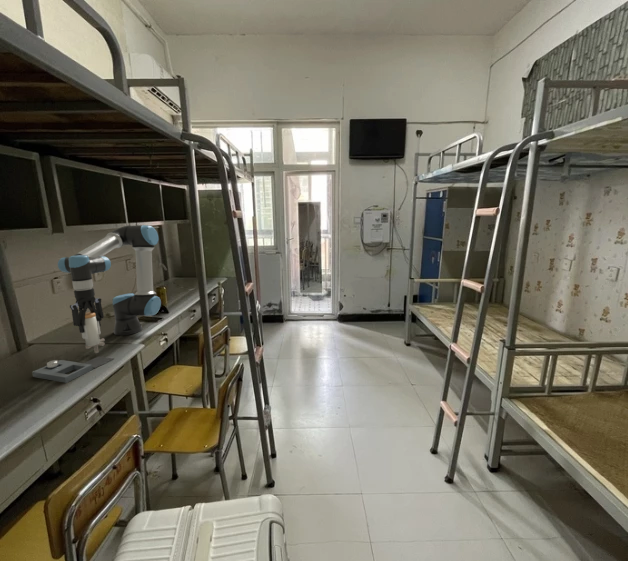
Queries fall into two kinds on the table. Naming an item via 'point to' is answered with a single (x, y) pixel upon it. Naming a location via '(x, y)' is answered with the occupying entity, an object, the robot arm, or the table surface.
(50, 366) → the plunger
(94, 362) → the mat
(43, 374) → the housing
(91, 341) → the cartridge
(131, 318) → the robot arm
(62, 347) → the table surface
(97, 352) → the pipe connector
